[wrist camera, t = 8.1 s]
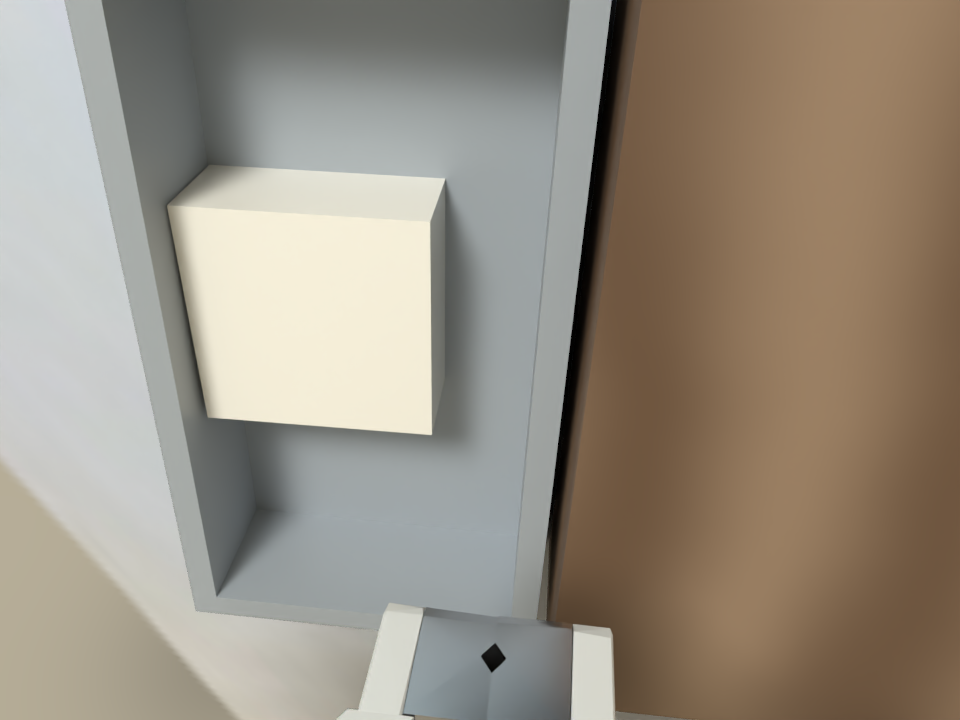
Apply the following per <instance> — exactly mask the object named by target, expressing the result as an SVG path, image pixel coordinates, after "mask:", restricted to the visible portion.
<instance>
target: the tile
mask: <svg viewBox="0 0 960 720" xmlns="http://www.w3.org/2000/svg"><path fill="white" fill-rule="evenodd" d="M167 209H168V214H169V219H170V224H171V229H172V235H173V240H174V245H175V250H176V255H177V261H178V266H179V271H180V276H181V281H182V287H183V292H184V297H185V302H186V307H187V312H188V318H189V323H190V328H191V333H192V338H193V344H194V349H195V354H196V359H197V364H198V370H199V375H200V380H201V385H202V390H203V396H204V401H205V406H206V411H207V416H208V417H209V418H222V419H235V420H247V421H260V422H273V423H285V424H298V425H311V426H323V427H336V428H349V429H361V430H374V431H387V432H399V433H412V434H425V435H432V432H433V428H434V424H435V419H436V415H437V411H438V406H439V402H440V397H441V393H442V389H443V384H444V380H445V178H428V177H411V176H394V175H377V174H360V173H343V172H326V171H309V170H292V169H275V168H258V167H241V166H224V165H209V166H207V167H206V168H205V169H204V170H203V171H202V172H201V173H200V174H199V175H198V176H197V177H196V178H195V179H194V180H193V181H192V182H191V183H190V184H189V185H188V186H187V187H186V188H185V189H184V190H182V191H181V192H180V193H179V194H178V195H177V196H176V197H175V198H174V199H173V200H172V201H171V202H170V203H169V204H168V205H167Z"/></svg>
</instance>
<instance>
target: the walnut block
mask: <svg viewBox="0 0 960 720" xmlns="http://www.w3.org/2000/svg"><path fill="white" fill-rule="evenodd" d="M547 621H555V622H566V623H571V624H572V625H573V624H577V625H586V626H595V627H604V628H610V629H611V632H612V634H613V655H614V687H615V711H619V712H629V713H638V714H647V715H656V716H665V717H674V718H683V719H692V720H960V0H617V2H616V10H615V18H614V26H613V34H612V42H611V50H610V58H609V66H608V74H607V82H606V90H605V98H604V106H603V114H602V122H601V130H600V138H599V147H598V155H597V163H596V171H595V179H594V187H593V195H592V203H591V211H590V219H589V227H588V235H587V243H586V251H585V259H584V267H583V275H582V283H581V291H580V300H579V308H578V316H577V324H576V332H575V340H574V348H573V356H572V364H571V372H570V380H569V388H568V396H567V404H566V412H565V420H564V428H563V436H562V445H561V453H560V461H559V469H558V477H557V485H556V493H555V501H554V509H553V517H552V525H551V533H550V541H549V564H548V594H547Z"/></svg>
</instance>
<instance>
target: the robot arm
mask: <svg viewBox="0 0 960 720" xmlns="http://www.w3.org/2000/svg"><path fill="white" fill-rule="evenodd" d="M335 720H615V687H614V655H613V634H612V632H611V629H610V628H604V627H595V626H586V625H577V624H573V625H572V624H571V623H566V622H555V621H545V620H535V619H525V618H515V617H505V616H499V617H493V616H486V615H479V614H472V613H464V612H457V611H450V610H443V609H436V608H429V607H419V606H411V605H403V604H396V603H389V604H388V606H387V608H386V610H385V612H384V614H383V618H382V621H381V625H380V629H379V633H378V636H377V640H376V644H375V648H374V652H373V655H372V659H371V663H370V667H369V670H368V674H367V678H366V682H365V686H364V689H363V693H362V697H361V701H360V705H359V708H358V709H346V710H345V711H344V712H343V713H342V714H341V715H340V716H339V717H338V718H337V719H335Z"/></svg>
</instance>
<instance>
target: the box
mask: <svg viewBox="0 0 960 720" xmlns="http://www.w3.org/2000/svg"><path fill="white" fill-rule="evenodd" d="M64 1H65V6H66V10H67V15H68V19H69V24H70V29H71V33H72V38H73V43H74V47H75V52H76V57H77V61H78V66H79V70H80V75H81V80H82V84H83V89H84V94H85V98H86V103H87V108H88V112H89V117H90V122H91V126H92V131H93V135H94V140H95V145H96V149H97V154H98V159H99V163H100V168H101V173H102V177H103V182H104V187H105V191H106V196H107V200H108V205H109V210H110V214H111V219H112V224H113V228H114V233H115V238H116V242H117V247H118V252H119V256H120V261H121V265H122V270H123V275H124V279H125V284H126V289H127V293H128V298H129V303H130V307H131V312H132V317H133V321H134V326H135V330H136V335H137V340H138V344H139V349H140V354H141V358H142V363H143V368H144V372H145V377H146V382H147V386H148V391H149V395H150V400H151V405H152V409H153V414H154V419H155V423H156V428H157V433H158V437H159V442H160V447H161V451H162V456H163V460H164V465H165V470H166V474H167V479H168V484H169V488H170V493H171V498H172V502H173V507H174V512H175V516H176V521H177V525H178V530H179V535H180V539H181V544H182V549H183V553H184V558H185V563H186V567H187V572H188V577H189V581H190V586H191V590H192V595H193V600H194V604H195V609H196V611H199V612H208V613H218V614H227V615H237V616H246V617H255V618H265V619H274V620H284V621H293V622H302V623H312V624H321V625H331V626H340V627H349V628H359V629H368V630H378V631H379V629H380V625H381V621H382V618H383V614H384V612H385V610H386V608H387V606H388V604H389V603H396V604H403V605H411V606H419V607H429V608H436V609H443V610H450V611H457V612H464V613H472V614H479V615H486V616H493V617H499V616H505V617H515V618H525V619H535V620H537V613H538V604H539V596H540V588H541V580H542V571H543V563H544V555H545V547H546V538H547V530H548V522H549V514H550V505H551V497H552V489H553V480H554V472H555V464H556V456H557V447H558V439H559V431H560V423H561V414H562V406H563V398H564V390H565V381H566V373H567V365H568V357H569V348H570V340H571V332H572V324H573V315H574V307H575V299H576V291H577V282H578V274H579V266H580V257H581V249H582V241H583V233H584V224H585V216H586V208H587V200H588V191H589V183H590V175H591V167H592V158H593V150H594V142H595V134H596V125H597V117H598V109H599V101H600V92H601V84H602V76H603V68H604V59H605V51H606V43H607V35H608V26H609V18H610V10H611V1H612V0H64ZM209 165H224V166H241V167H258V168H275V169H292V170H309V171H326V172H343V173H360V174H377V175H394V176H411V177H428V178H445V380H444V384H443V389H442V393H441V397H440V402H439V406H438V411H437V415H436V419H435V424H434V428H433V432H432V435H425V434H412V433H399V432H387V431H374V430H361V429H349V428H336V427H323V426H311V425H298V424H285V423H273V422H260V421H247V420H235V419H222V418H209V417H208V416H207V411H206V406H205V401H204V396H203V390H202V385H201V380H200V375H199V370H198V364H197V359H196V354H195V349H194V344H193V338H192V333H191V328H190V323H189V318H188V312H187V307H186V302H185V297H184V292H183V287H182V281H181V276H180V271H179V266H178V261H177V255H176V250H175V245H174V240H173V235H172V229H171V224H170V219H169V214H168V209H167V205H168V204H169V203H170V202H171V201H172V200H173V199H174V198H175V197H176V196H177V195H178V194H179V193H180V192H181V191H182V190H184V189H185V188H186V187H187V186H188V185H189V184H190V183H191V182H192V181H193V180H194V179H195V178H196V177H197V176H198V175H199V174H200V173H201V172H202V171H203V170H204V169H205V168H206V167H207V166H209Z"/></svg>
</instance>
